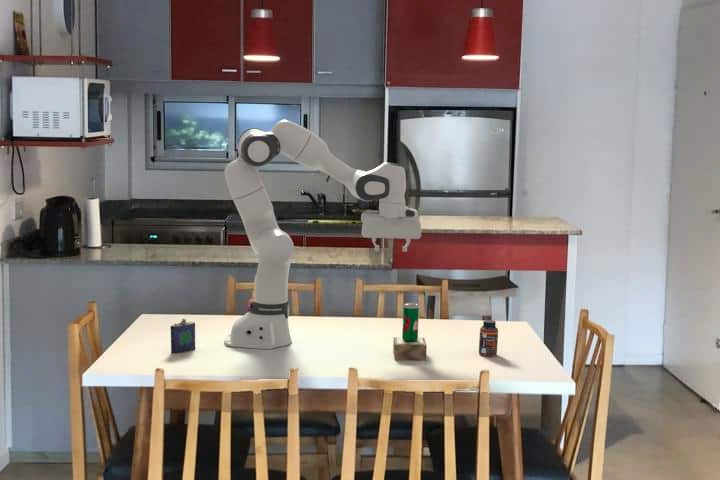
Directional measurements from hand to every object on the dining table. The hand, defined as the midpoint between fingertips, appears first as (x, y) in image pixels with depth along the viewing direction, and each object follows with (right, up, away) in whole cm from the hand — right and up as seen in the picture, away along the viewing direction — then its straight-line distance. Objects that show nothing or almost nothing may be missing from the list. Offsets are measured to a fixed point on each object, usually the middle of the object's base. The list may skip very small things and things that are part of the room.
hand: (390, 251), depth 315 cm
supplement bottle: (+31, -34, -11) cm, 48 cm away
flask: (-67, -32, -15) cm, 76 cm away
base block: (+6, -34, -15) cm, 37 cm away
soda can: (+6, -29, -16) cm, 33 cm away
